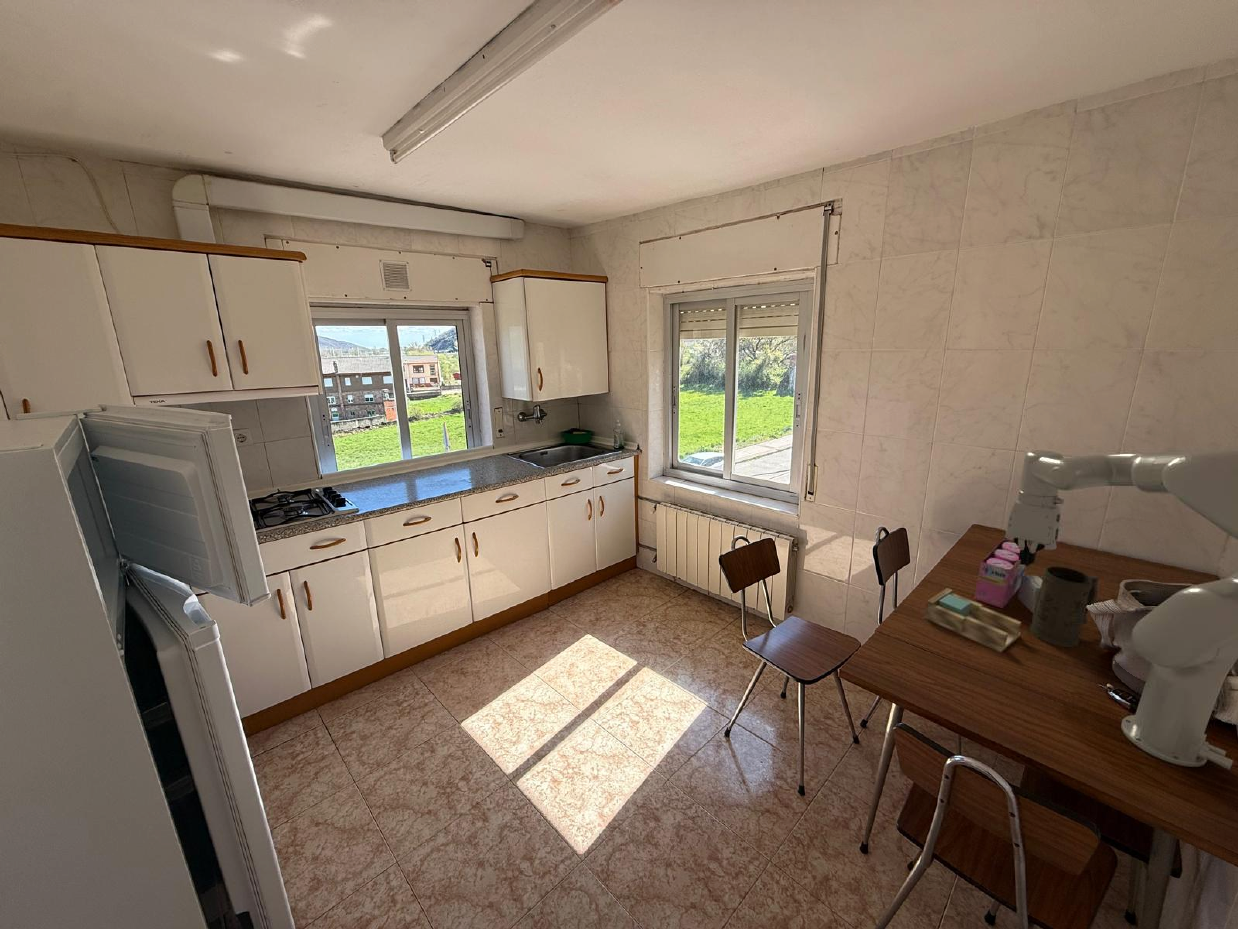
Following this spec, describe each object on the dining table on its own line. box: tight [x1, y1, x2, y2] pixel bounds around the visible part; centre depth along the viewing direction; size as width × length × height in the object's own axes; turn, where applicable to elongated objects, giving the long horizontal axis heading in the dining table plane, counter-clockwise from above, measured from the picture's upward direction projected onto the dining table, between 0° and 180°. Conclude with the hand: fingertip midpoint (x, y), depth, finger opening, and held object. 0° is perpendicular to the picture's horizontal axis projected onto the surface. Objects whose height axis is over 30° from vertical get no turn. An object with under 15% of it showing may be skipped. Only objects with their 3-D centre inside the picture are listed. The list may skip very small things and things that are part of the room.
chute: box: [924, 587, 1022, 653], centre depth 145 cm, size 20×12×6 cm, turn 33°
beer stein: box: [1029, 566, 1099, 648], centre depth 139 cm, size 15×11×20 cm
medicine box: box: [1017, 574, 1043, 613], centre depth 153 cm, size 8×4×9 cm, turn 168°
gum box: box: [974, 539, 1031, 609], centre depth 162 cm, size 24×8×14 cm, turn 129°
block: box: [938, 594, 971, 617], centre depth 149 cm, size 6×6×5 cm
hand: (1025, 563), depth 132 cm, fingers closed
